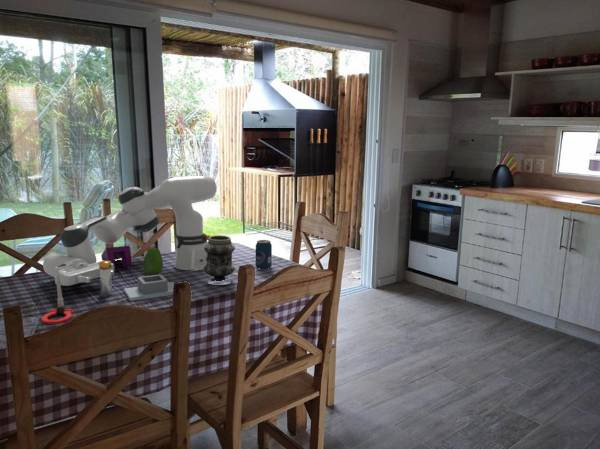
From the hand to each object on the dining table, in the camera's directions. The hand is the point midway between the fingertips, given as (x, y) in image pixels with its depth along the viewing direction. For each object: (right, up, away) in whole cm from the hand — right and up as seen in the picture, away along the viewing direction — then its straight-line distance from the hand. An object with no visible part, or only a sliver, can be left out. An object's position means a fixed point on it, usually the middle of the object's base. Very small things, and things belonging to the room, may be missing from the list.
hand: (101, 276), depth 173 cm
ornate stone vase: (+39, -4, +18) cm, 43 cm away
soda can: (+55, -1, +38) cm, 67 cm away
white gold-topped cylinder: (+2, -6, +1) cm, 7 cm away
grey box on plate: (+17, -6, +4) cm, 19 cm away
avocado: (+11, -2, +23) cm, 26 cm away
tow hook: (-5, -11, -21) cm, 25 cm away
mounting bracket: (-10, +1, +39) cm, 40 cm away
